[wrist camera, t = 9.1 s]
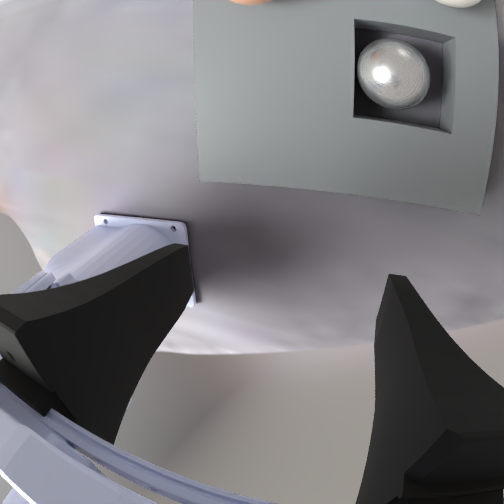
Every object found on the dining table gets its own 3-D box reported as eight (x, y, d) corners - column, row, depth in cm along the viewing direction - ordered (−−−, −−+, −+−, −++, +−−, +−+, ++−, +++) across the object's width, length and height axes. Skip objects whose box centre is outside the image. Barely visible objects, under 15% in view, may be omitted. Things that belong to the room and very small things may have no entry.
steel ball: (360, 101, 16) (344, 99, 13) (367, 40, 14) (352, 24, 11) (424, 117, 15) (425, 119, 12) (433, 54, 13) (434, 40, 10)
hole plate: (215, 170, 21) (199, 181, 19) (211, -47, 13) (194, -59, 11) (466, 201, 17) (479, 215, 14) (474, -29, 9) (487, -40, 7)
